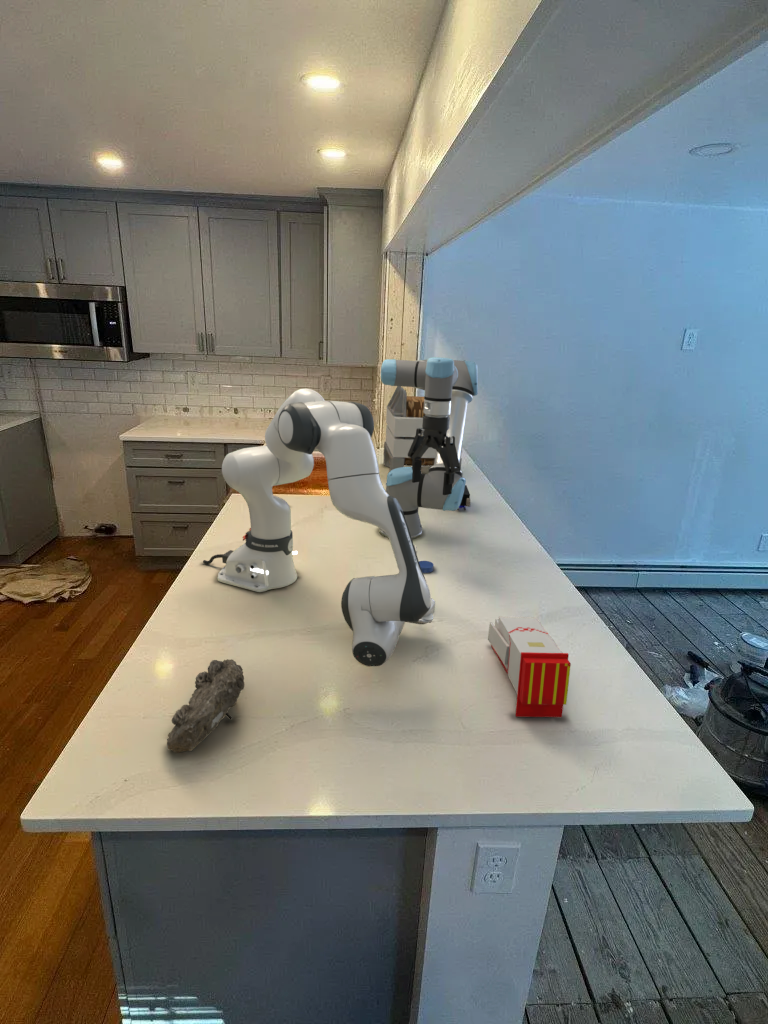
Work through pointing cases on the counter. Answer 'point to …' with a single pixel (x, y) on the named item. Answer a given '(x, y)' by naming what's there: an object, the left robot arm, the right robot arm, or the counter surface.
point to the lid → (426, 566)
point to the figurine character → (465, 499)
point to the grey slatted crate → (404, 430)
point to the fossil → (206, 705)
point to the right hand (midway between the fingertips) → (431, 488)
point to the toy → (531, 665)
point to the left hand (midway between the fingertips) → (398, 589)
